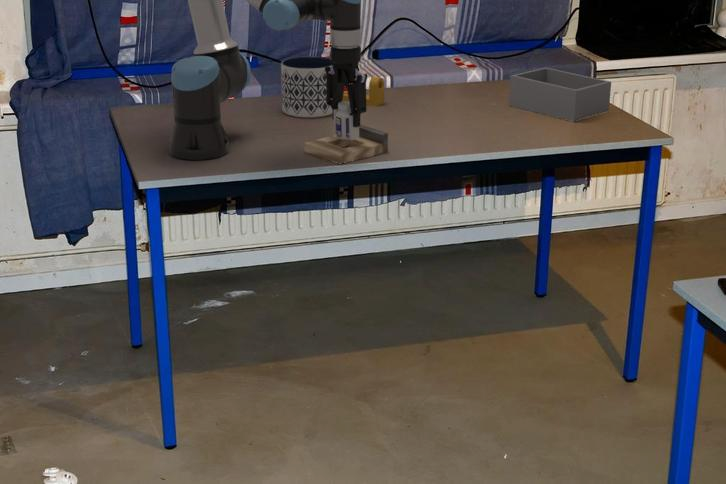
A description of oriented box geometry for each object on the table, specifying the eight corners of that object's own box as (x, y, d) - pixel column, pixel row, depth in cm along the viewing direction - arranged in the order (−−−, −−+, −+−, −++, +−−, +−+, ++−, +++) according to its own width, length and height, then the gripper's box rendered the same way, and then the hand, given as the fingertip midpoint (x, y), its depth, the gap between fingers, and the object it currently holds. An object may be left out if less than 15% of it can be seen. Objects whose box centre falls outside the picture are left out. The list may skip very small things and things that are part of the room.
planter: (347, 109, 319) (347, 60, 314) (315, 121, 307) (314, 71, 302) (304, 101, 327) (303, 53, 322) (270, 113, 315) (269, 63, 310)
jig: (340, 164, 271) (340, 145, 269) (304, 152, 280) (304, 133, 278) (387, 151, 281) (387, 133, 279) (351, 140, 290) (351, 121, 288)
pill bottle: (358, 134, 281) (358, 101, 278) (354, 140, 276) (354, 106, 273) (338, 133, 282) (338, 100, 279) (334, 139, 277) (333, 105, 274)
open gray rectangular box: (573, 122, 307) (576, 90, 303) (508, 105, 323) (510, 75, 320) (608, 112, 316) (611, 81, 313) (543, 96, 333) (545, 67, 330)
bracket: (384, 103, 326) (384, 76, 323) (376, 107, 322) (376, 79, 319) (341, 97, 333) (341, 70, 330) (333, 100, 329) (333, 73, 326)
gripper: (382, 49, 266) (381, 141, 275) (333, 37, 279) (334, 126, 287) (358, 53, 261) (359, 147, 270) (310, 41, 274) (312, 131, 283)
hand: (346, 136), depth 279 cm, fingers closed on pill bottle, 5 cm apart
